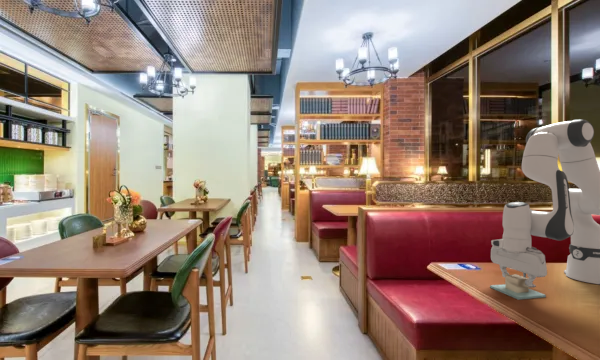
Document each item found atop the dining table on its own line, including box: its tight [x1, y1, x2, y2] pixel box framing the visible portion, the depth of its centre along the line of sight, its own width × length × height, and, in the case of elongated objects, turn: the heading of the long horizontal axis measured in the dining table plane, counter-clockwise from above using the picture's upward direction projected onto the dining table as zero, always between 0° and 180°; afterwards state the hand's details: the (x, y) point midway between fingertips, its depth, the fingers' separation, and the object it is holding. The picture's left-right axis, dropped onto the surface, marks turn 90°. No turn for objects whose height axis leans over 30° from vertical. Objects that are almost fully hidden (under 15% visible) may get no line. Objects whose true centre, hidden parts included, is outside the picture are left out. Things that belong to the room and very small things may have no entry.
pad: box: [489, 284, 547, 301], centre depth 110 cm, size 12×12×1 cm
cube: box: [504, 273, 530, 293], centre depth 110 cm, size 5×5×5 cm
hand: (516, 281), depth 110 cm, fingers open, 8 cm apart
